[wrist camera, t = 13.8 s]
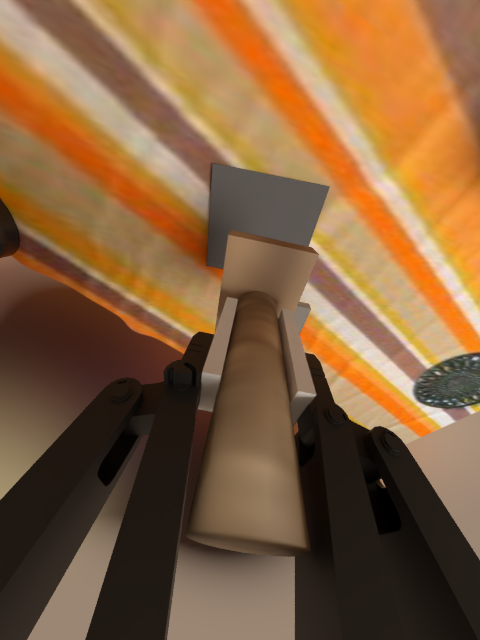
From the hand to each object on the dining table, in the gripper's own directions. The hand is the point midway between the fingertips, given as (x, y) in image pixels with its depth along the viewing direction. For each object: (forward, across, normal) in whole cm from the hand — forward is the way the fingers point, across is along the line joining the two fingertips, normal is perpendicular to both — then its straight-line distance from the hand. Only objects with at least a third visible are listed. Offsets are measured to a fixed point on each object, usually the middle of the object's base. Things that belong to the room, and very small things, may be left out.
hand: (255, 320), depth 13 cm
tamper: (+4, 0, 0) cm, 4 cm away
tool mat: (+21, 0, +3) cm, 22 cm away
